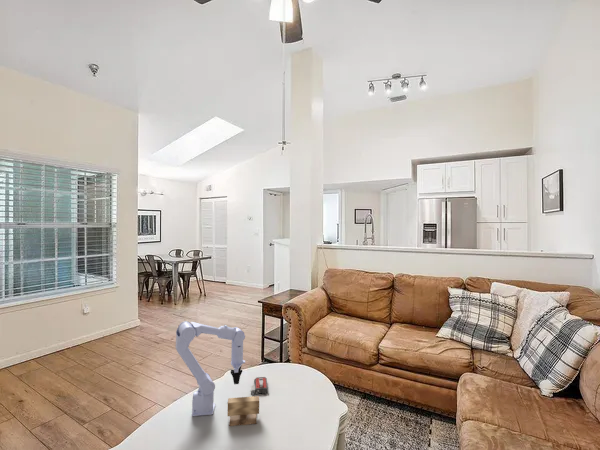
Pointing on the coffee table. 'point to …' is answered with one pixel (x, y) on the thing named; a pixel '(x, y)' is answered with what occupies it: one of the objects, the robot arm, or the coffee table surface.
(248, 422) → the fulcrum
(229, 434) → the coffee table surface
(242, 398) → the oak bar
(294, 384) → the coffee table surface
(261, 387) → the walkie-talkie
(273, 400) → the coffee table surface
